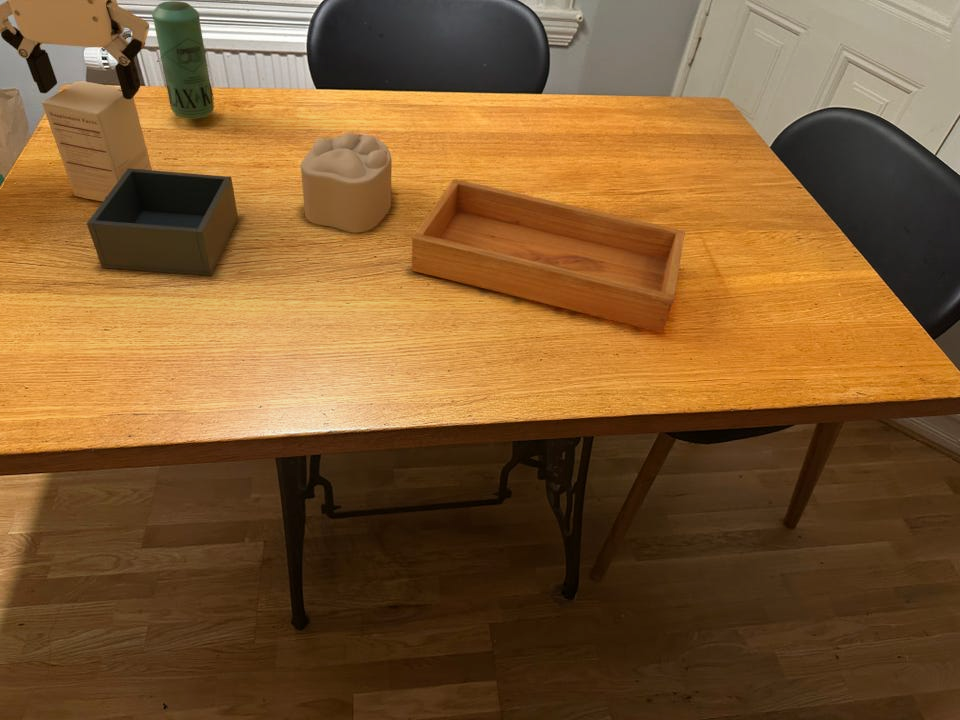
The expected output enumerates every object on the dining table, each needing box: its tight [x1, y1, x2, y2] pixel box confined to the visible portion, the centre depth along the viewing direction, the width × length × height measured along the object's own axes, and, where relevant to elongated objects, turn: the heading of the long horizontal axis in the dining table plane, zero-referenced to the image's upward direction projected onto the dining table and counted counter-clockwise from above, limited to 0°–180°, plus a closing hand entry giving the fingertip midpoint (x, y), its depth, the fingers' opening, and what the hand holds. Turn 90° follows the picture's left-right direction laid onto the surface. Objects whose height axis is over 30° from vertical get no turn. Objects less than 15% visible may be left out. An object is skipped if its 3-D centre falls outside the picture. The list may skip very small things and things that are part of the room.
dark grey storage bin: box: [86, 168, 239, 277], centre depth 83 cm, size 12×12×6 cm
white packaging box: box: [41, 80, 153, 203], centre depth 88 cm, size 7×7×13 cm
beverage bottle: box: [151, 0, 216, 120], centre depth 102 cm, size 6×7×20 cm
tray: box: [411, 178, 686, 333], centre depth 86 cm, size 31×15×6 cm, turn 73°
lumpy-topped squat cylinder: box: [300, 132, 393, 234], centre depth 92 cm, size 10×13×9 cm
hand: (90, 91), depth 83 cm, fingers open, 9 cm apart
